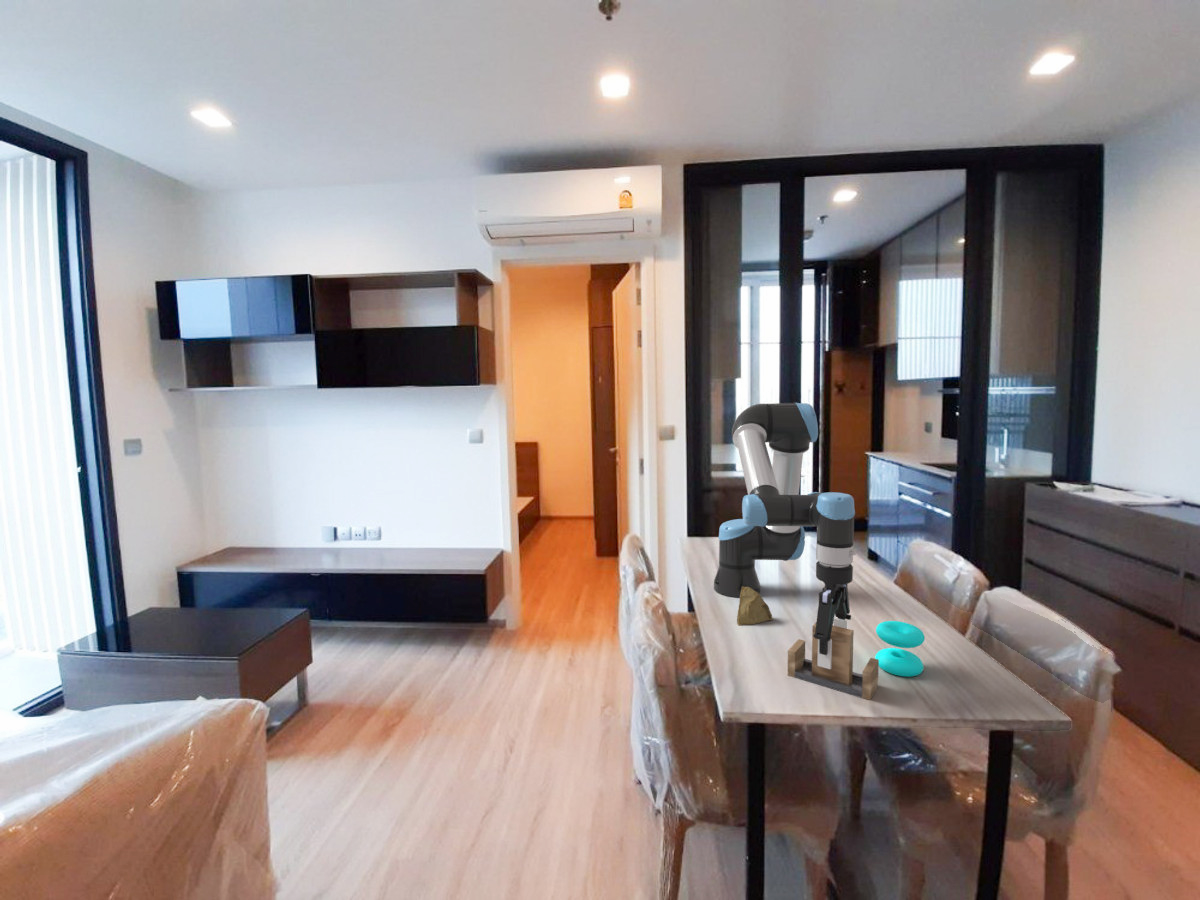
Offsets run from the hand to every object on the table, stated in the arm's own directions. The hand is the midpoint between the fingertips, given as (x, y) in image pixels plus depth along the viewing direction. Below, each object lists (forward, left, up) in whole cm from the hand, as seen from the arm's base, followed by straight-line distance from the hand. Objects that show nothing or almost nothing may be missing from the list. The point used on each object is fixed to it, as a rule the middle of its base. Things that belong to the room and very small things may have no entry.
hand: (832, 656), depth 123 cm
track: (0, 0, -6) cm, 6 cm away
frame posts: (0, 0, -6) cm, 6 cm away
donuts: (+11, +15, -6) cm, 20 cm away
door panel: (0, 0, -5) cm, 5 cm away
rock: (-27, +21, -6) cm, 35 cm away
